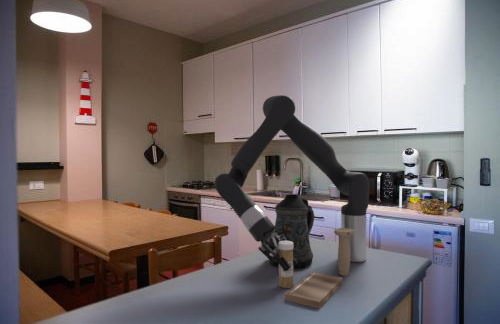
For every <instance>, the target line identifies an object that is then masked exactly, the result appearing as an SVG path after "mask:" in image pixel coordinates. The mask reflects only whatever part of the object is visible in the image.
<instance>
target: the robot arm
mask: <svg viewBox="0 0 500 324" xmlns="http://www.w3.org/2000/svg"><path fill="white" fill-rule="evenodd" d="M262 113H263V115H264V117H265V118H264V120H263V121H262V123H261V124H260V126H259V127H258V128H257V129H256V131H255V132H254V133H253V134H251V136H250V137H249V138H247V140H245V142H244V143H243V144H242V145H241V147H240V148H239V150H238V151H237V152H236V154H235V156H234V157H233V158H232V161H231V163H230V165H231V168H230V170H229V172H228V173H220V174H219V175H217V176H216V178H215V180H214V188H215V191H216V192H217V194H219V196H220V197H221V198H222V199H223V200H224V201H225V202H226V203H227V204H228V205H229V206H230V207H231V208H232V210H233V212H234V213H235V214H236V216H237V217H238V218H239V220H240V221H241V222H242V224H243V226H244V228H245V229H246V230H247V231H248V232H249V234H250V235H251V237H252V238H253V239H254V240H255V241H256V242H258V243H259V242H260V243H261V245H259V247H258V251H259V252H261V253H262V254H263V255H264V256H265V257H266V258H267V259H268V260H269V262H270V261H271V262H273V261H276V262H278V263H279V264H280V266H281V267H282V268H283V269H284V271H288V270H289V269H290V268H291V266H290V265H289V264H288V262H287V261H286V260H285V259H284V257H282V255H281V253H280V249H279V246H278V243H279V242H280V241H287V239H286V237H285V236H284V235H283V234H282V235H281V236H278V234H276V233H275V232H274V229H275V224H274V223H273V221H271V219H270V218H269V217H268V216H267V215H266V213H265V212H264V211H263V210H262V209H261V208H260V207H259V206H258V205H257V204H256V203H255V201H254V200H253V198H252V197H251V196H250V195H249V194H248V193H246V192H245V191H244V190H243V189H242V188H243V186H244V184H245V182H246V179H247V177H248V174H249V172H250V171H251V170H252V169H253V167H254V166H255V164H256V163H257V161H258V160H259V158H260V156H262V153H263V152H264V151H265V149H266V148H267V147H268V146H269V144H270V143H271V142H272V140H273V139H274V138H275V137H276V136H277V134H278V133H279V132H280V131H282V132H283V133H284V134H285V135H286V136H287V137H288V138H289V139H290V140H291V141H292V142H293V144H294V145H295V146H296V147H297V148H298V150H300V151H301V153H303V155H305V156H306V158H308V160H310V162H311V163H313V164H314V165H315V166H316V167H317V168H318V169H319V170H320V171H321V172H322V173H323V174H324V175H326V177H327V178H328V179H329V180H330V182H331V183H332V184H333V185H334V187H335V188H336V189H337V190H338V191H339V192H340V193H341V194H342V195H344V196H348V202H347V203H346V204H344V205H342V206H341V208H340V211H341V213H340V223H341V224H340V228H350V229H353V230H354V234H353V235H351V236H350V237H349V246H350V263H351V262H352V263H361V262H365V261H366V260H367V210H368V208H369V201H370V200H369V199H370V182H369V178H368V176H367V175H366V174H365V173H362V172H356V171H350V170H347V169H346V168H345V167H344V166H343V165H342V164H341V163H340V162H339V161H338V159H337V155H336V152H335V149H334V148H333V146H332V144H330V143H329V141H328V140H327V139H326V138H325V137H324V136H323V135H322V134H321V133H320V132H319V131H317V130H316V129H314V128H313V127H311V126H309V125H308V124H306V122H305V123H304V122H303V121H302V120H301V119H299V117H298V116H296V114H295V113H296V104H295V101H294V100H293V98H291V97H290V96H288V95H284V94H281V95H280V94H279V95H273V96H270V97H268V98H266V99H265V100H264V101H263V105H262ZM276 253H277V254H278V255H277V254H276ZM269 254H270V255H271V256H272V257H271V256H270V255H269ZM296 264H297V261H296V259H295V258H294V257H293V267H294V266H295V265H296Z"/></svg>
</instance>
